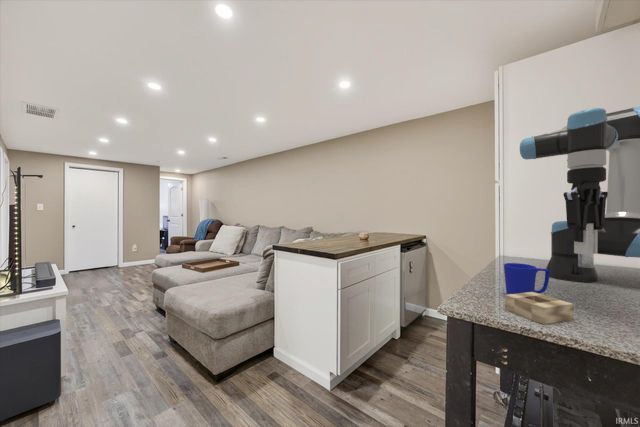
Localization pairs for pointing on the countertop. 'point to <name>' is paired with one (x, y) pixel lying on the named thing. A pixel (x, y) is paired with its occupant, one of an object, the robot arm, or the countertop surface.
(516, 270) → the mug
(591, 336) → the countertop surface
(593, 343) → the countertop surface
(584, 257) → the peg
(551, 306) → the hole block
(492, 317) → the countertop surface
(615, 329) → the countertop surface
